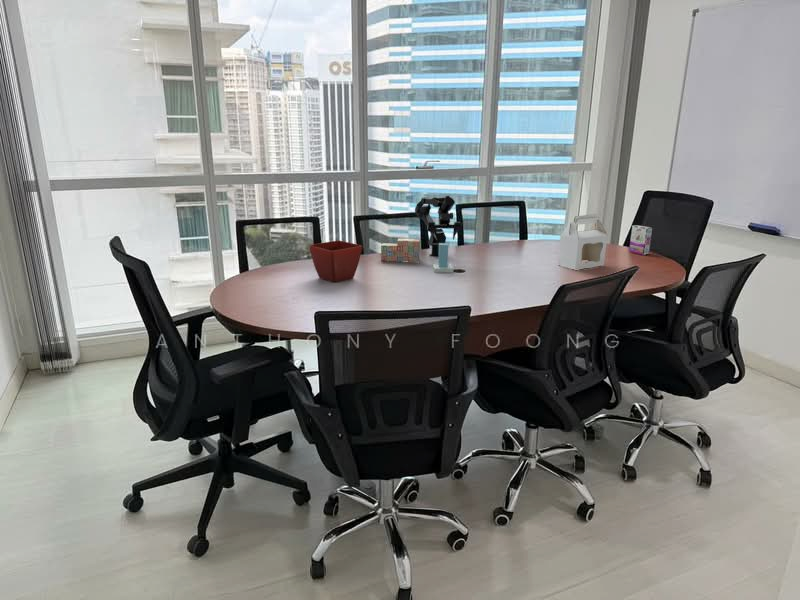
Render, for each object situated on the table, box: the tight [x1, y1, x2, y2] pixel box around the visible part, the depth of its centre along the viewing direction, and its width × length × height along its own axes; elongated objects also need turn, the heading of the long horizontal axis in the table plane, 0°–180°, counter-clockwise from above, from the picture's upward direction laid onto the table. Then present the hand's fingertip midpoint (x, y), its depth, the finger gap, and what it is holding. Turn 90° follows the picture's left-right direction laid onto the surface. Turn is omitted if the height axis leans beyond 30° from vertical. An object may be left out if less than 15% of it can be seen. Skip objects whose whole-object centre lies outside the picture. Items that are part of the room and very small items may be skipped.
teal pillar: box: [437, 242, 449, 267], centre depth 302 cm, size 4×4×12 cm
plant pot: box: [309, 240, 363, 283], centre depth 285 cm, size 19×19×17 cm
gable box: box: [557, 213, 608, 270], centre depth 311 cm, size 22×13×28 cm, turn 119°
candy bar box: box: [628, 224, 653, 256], centre depth 343 cm, size 11×5×16 cm, turn 28°
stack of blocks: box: [380, 238, 421, 263], centre depth 322 cm, size 21×6×12 cm, turn 84°
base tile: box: [432, 263, 454, 273], centre depth 304 cm, size 10×10×2 cm
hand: (445, 239), depth 314 cm, fingers open, 9 cm apart
